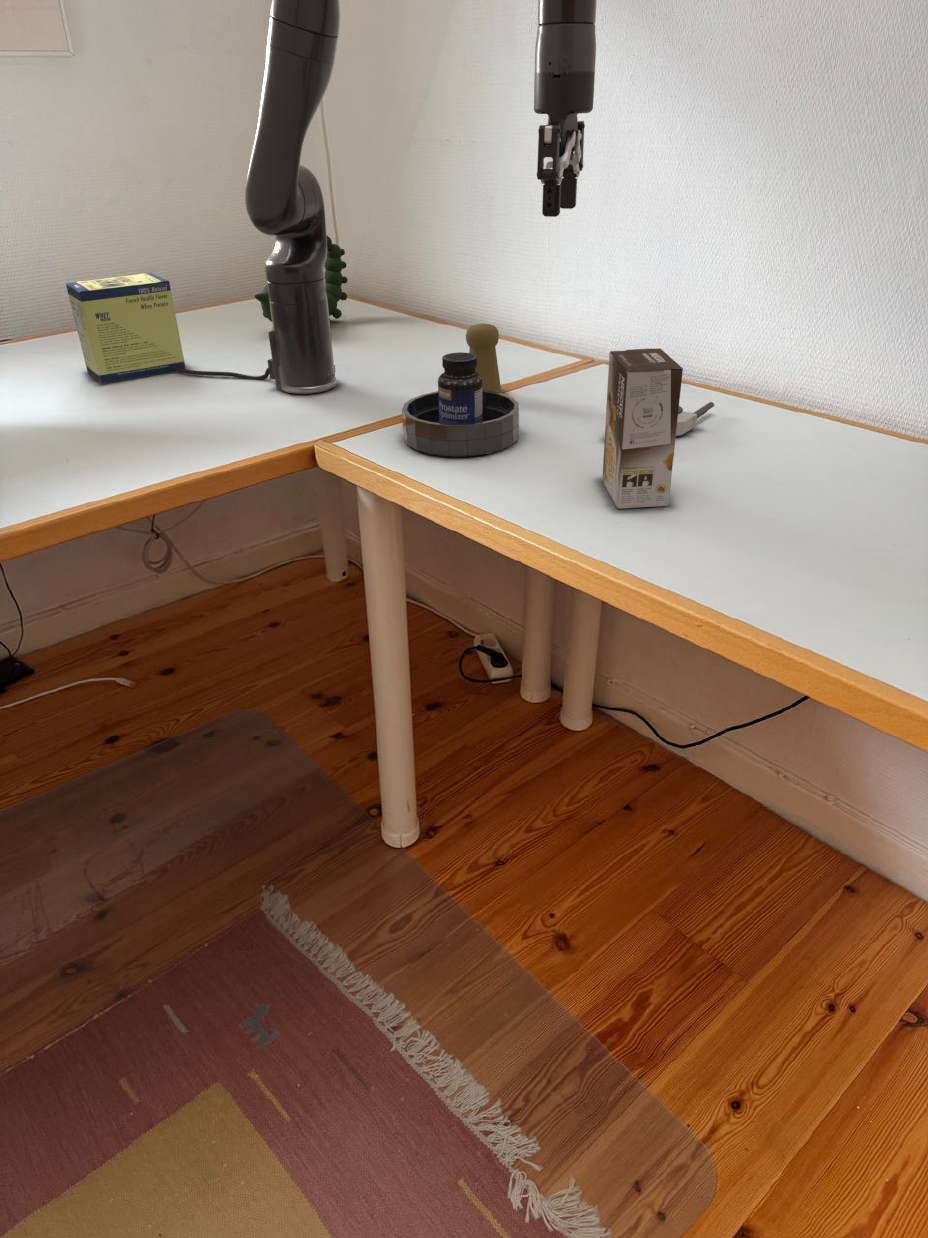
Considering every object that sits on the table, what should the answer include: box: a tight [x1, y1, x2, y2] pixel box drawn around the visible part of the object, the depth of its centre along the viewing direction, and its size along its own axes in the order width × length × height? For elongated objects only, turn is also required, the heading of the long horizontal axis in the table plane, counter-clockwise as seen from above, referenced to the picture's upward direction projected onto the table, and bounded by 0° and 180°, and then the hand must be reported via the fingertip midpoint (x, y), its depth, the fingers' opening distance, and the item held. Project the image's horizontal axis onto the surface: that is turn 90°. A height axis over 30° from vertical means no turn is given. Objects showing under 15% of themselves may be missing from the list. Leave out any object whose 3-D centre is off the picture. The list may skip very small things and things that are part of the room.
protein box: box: [65, 272, 187, 385], centre depth 152 cm, size 10×16×16 cm
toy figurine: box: [254, 234, 348, 325], centre depth 176 cm, size 9×19×25 cm
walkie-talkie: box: [676, 401, 715, 437], centre depth 121 cm, size 9×4×20 cm
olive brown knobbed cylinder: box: [465, 323, 502, 393], centre depth 135 cm, size 6×6×11 cm
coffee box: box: [601, 347, 684, 510], centre depth 99 cm, size 9×6×16 cm
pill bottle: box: [437, 351, 482, 424], centre depth 118 cm, size 6×6×11 cm
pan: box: [401, 390, 520, 458], centre depth 120 cm, size 16×16×5 cm
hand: (559, 212), depth 115 cm, fingers open, 8 cm apart
